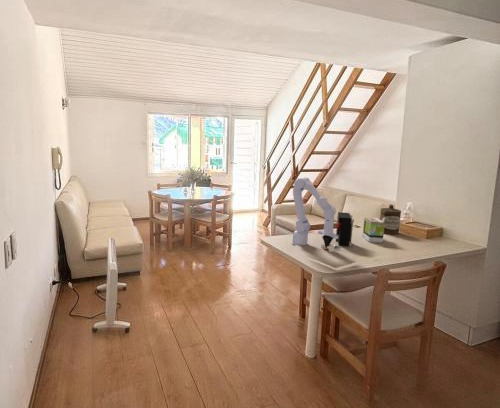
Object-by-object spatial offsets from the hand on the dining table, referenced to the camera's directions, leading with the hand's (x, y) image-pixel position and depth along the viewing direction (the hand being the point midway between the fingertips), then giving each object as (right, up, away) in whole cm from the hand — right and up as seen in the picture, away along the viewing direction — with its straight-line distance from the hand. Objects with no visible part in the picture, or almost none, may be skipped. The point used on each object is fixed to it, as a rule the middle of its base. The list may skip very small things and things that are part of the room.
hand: (327, 247), depth 217 cm
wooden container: (+60, +5, +54) cm, 81 cm away
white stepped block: (+2, -2, -4) cm, 5 cm away
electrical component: (+14, 0, +17) cm, 22 cm away
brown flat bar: (+2, -1, +2) cm, 3 cm away
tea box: (+39, +1, +32) cm, 51 cm away
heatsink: (+3, -2, +2) cm, 4 cm away
